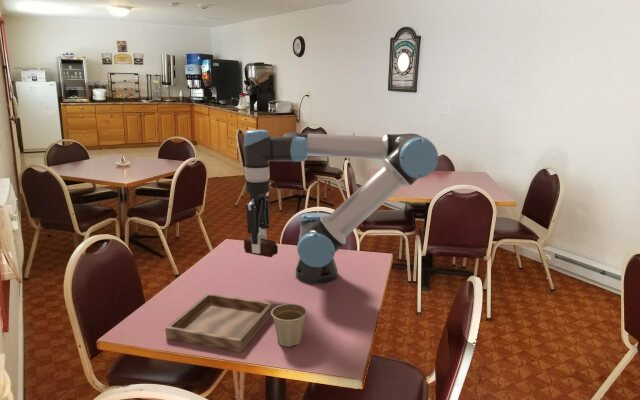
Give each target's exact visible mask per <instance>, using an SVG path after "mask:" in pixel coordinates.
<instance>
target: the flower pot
mask: <svg viewBox="0 0 640 400" xmlns="http://www.w3.org/2000/svg"><path fill="white" fill-rule="evenodd" d="M307 313H308V310H307V309H306V307H305V306H303V305H301V304H296V303H284V304H280V305H277V306H275V307H273V310H272V311H271V317H272V320H273V321H274V326H275V331H276V338H277V342H278V344H279V345H280V346H282V347H286V348H290V347H291V348H292V347H293V346H299V344H300V343H301V341H302V335H303V329H304V328H303V327H304V321H305V319H306V316H307Z"/></svg>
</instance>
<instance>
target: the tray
mask: <svg viewBox="0 0 640 400" xmlns="http://www.w3.org/2000/svg"><path fill="white" fill-rule="evenodd" d="M273 308H274V302H269V301H268V302H267V301H262V300H255V299H249V298H241V297H235V296H228V295H221V294H214V293H209V292H208V293H206V294H205V295H204V296H202V297H200V299H199V300H197V301H196V302H195V303H194V304H193V305H192V306H190V307H189V308H188V309H187V310H185V311H184V312H183V313H182V314H181V315H179V316H178V317H176V318H175V319H174V320H173V321H171V322H170V323H169V324H168V325H167V326H166V327H165V329H164V330H165V338H166V340H172V341H176V342H182V343H186V344H187V343H188V344H192V345H198V346H204V347H208V348H214V349H220V350H225V351H229V352H235V353H242V351H243V350H244V349H245V348H246V347H247V346H248V344H249V343H250V342H251V340H253V338H254V337H255V336H256V335H257V333H258V332H259V331H260V330H261V329H262V327H264V325H265V324H266V323H267V322H268V320H269V319H270V318H271V317H272V315H271V311H272V310H273Z"/></svg>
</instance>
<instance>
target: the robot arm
mask: <svg viewBox="0 0 640 400" xmlns="http://www.w3.org/2000/svg"><path fill="white" fill-rule="evenodd" d="M243 138H244V140H243V151H244V153H243V155H244V176H245V180H246V181H245V192H246V193H247V194H249V195H250V197H249V203H246V204H245V209H246V219H247V220H246V224H247V225H246V226H247V229H246V230H247V234H249V235H251V236H250V237H251V238H252V253H258V254H260V253H261V245H260V238H261V239H266V240H268V237H267V236H268V235H267V233H268V232H267V230H268V229H269V228H270V200H271V199H270V198H271V196H270V195H269V194H268V193H269V192H270V190H271V189H270V188H271V187H270V185H271V184H270V183H271V182H270V180H269V179H270V177H271V176H270V174H271V173H270V162H295V163H297V162H306V161H307V159H308V157H325V158H339V159H340V158H342V159H344V158H346V159H359V160H360V159H363V160H380V161H382V163H383V166H382V167H381V168H380V169H379V170H378V171H377V172H376V173H374V174H373V175H372V176H371V177H370V178H369V179H368V180H367V181H365V182H364V183H363V184H362V185H361V186H360V187H359V188H358V189H357V190H356V191H355V192H354V193H352V194H351V195H350V196H349V197H348V198H347V199H346V200H344V201H343V202H342V203H341V204H339V206H338V207H337V208H336V209H334V211H332V212H331V213H326V212H305V213H302V214H301V215H300V220H299V225H300V228H299V229H300V230H299V235H298V236H299V237H298V241H297V244H296V245H297V246H296V248H297V254H298V257H299V259H298V261H297V264H296V267H295V278H296V279H297V280H298V281H301V282H303V283H307V284H312V285H313V284H317V285H318V284H319V285H320V284H327V283H330V282H332V281H335V280H336V279H337V278H338V267H337V263H336V261H335V258H334V257H335V253H336V252H337V251H338V250H340V249H341V248H342V247H343V246H344V245H346V242H347V241H346V240H347V237H348V235H350V234H351V233H352V231H354V230H356V228H357V227H358V226H359V225H361V224H362V223H363V222H364V221H365V220H366V219H367V218H369V217H370V216H371V215H372V214H373V213H374V212H375V211H376V210H377V209H378V208H380V207H381V206H382V205H383V204H384V203H386V202H387V201H388V200H389V199H390V198H391V197H392V196H393V195H394V194H396V193H397V192H398V191H399V190H400V189H401V188H403V187H411V186H412V185H413V184H414V183H415V182H416V181H418V180H419V179H423V178H426V177H428V176H429V175H430V174H432V173H433V172H434V171H435V169H436V167H437V165H438V163H439V152H438V149H437V147H436V146H435V144H434V143H433V142H432V141H431V140H430V139H429V138H426V137H424V136H421V135H419V134H417V133H400V134H396V133H395V134H391V133H390V134H389V133H388V134H387V133H385V134H384V135H383V136H368V135H351V134H349V135H346V134H344V135H343V134H327V133H326V134H323V133H305V132H304V133H302V132H297V131H289V132H286V133H285V134H283V136H270V135H269V131H268V130H267V129H250V130H249V129H248V130H246V131H245V132H244V137H243Z"/></svg>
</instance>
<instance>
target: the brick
mask: <svg viewBox="0 0 640 400" xmlns="http://www.w3.org/2000/svg"><path fill="white" fill-rule="evenodd" d="M276 243H277V242H276V241H275V240H272V239H271V240H270V239H267V240H266V239H261V238H260V245H261V253H260V254H258V253H252V238H251V236H249V237H247V238H245V239H244V240H243V250H244V252H245V253H246V254H251V255H256V256H259V257H260V256H262V257H267V258H272V257H273V256H275V255H277V254H278V252H279V251H278V248H279V247H278V245H277V244H276Z"/></svg>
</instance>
